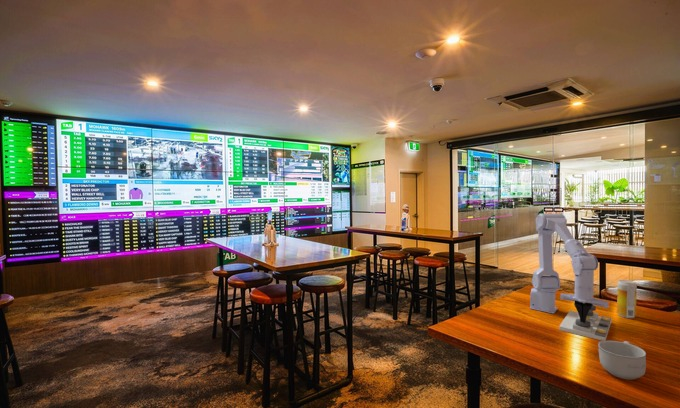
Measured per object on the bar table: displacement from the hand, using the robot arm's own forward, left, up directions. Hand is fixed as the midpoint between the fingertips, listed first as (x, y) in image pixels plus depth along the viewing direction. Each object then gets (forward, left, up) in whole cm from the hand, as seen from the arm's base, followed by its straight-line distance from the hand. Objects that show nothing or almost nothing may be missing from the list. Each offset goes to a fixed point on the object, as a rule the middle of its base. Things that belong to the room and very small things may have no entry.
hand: (583, 321), depth 125 cm
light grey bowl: (+13, -24, -4) cm, 28 cm away
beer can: (+11, +32, -4) cm, 34 cm away
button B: (0, +7, -1) cm, 8 cm away
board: (0, +8, -4) cm, 9 cm away
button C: (0, +15, -1) cm, 15 cm away
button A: (0, 0, -3) cm, 3 cm away
